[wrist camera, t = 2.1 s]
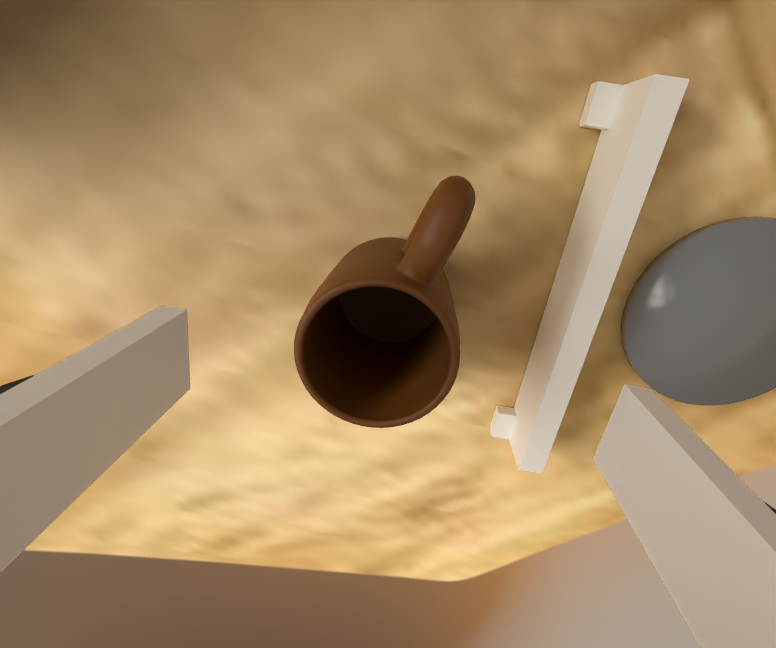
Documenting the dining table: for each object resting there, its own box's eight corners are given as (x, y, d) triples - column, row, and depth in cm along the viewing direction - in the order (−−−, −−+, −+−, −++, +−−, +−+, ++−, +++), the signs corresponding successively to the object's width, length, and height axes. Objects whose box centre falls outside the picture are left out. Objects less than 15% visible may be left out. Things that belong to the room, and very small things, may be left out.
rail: (489, 428, 30) (499, 466, 26) (590, 84, 21) (626, 69, 18) (543, 437, 30) (561, 476, 26) (666, 96, 21) (718, 83, 18)
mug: (393, 140, 23) (376, 130, 14) (510, 202, 24) (561, 228, 15) (314, 316, 28) (265, 390, 19) (415, 364, 28) (413, 455, 20)
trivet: (594, 382, 28) (599, 388, 27) (666, 200, 23) (674, 202, 23) (770, 411, 28) (780, 418, 27) (878, 235, 23) (893, 237, 22)
